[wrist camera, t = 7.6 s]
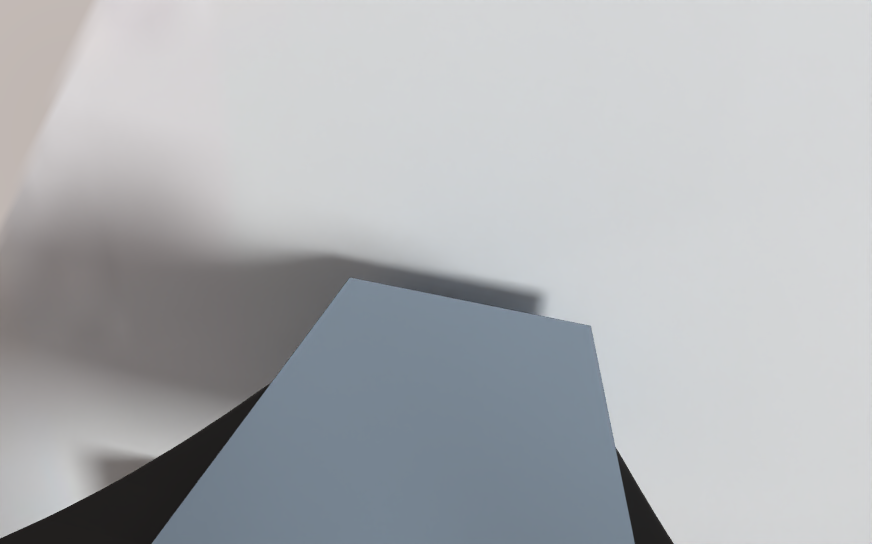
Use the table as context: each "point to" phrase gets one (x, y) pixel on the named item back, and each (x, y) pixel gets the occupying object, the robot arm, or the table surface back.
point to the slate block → (419, 434)
